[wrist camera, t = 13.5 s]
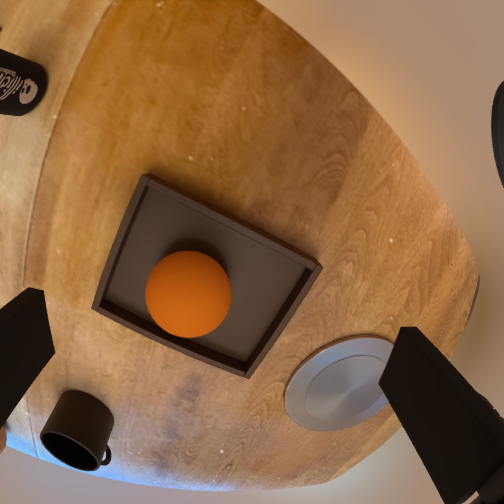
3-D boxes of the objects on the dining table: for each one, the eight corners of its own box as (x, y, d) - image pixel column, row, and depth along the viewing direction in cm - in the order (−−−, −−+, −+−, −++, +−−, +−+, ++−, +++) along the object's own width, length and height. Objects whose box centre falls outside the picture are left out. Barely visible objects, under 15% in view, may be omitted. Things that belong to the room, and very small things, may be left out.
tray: (316, 259, 32) (323, 267, 30) (247, 366, 36) (249, 379, 33) (149, 172, 28) (142, 174, 26) (99, 298, 32) (91, 308, 29)
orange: (243, 253, 31) (227, 267, 23) (232, 327, 32) (215, 361, 24) (168, 240, 31) (132, 249, 23) (162, 311, 32) (128, 338, 25)
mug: (98, 443, 40) (85, 481, 31) (50, 396, 36) (28, 434, 28) (136, 434, 39) (125, 478, 30) (85, 383, 35) (63, 426, 27)
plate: (419, 334, 37) (422, 337, 36) (376, 423, 42) (378, 426, 41) (300, 331, 35) (302, 335, 34) (272, 429, 40) (272, 433, 39)
